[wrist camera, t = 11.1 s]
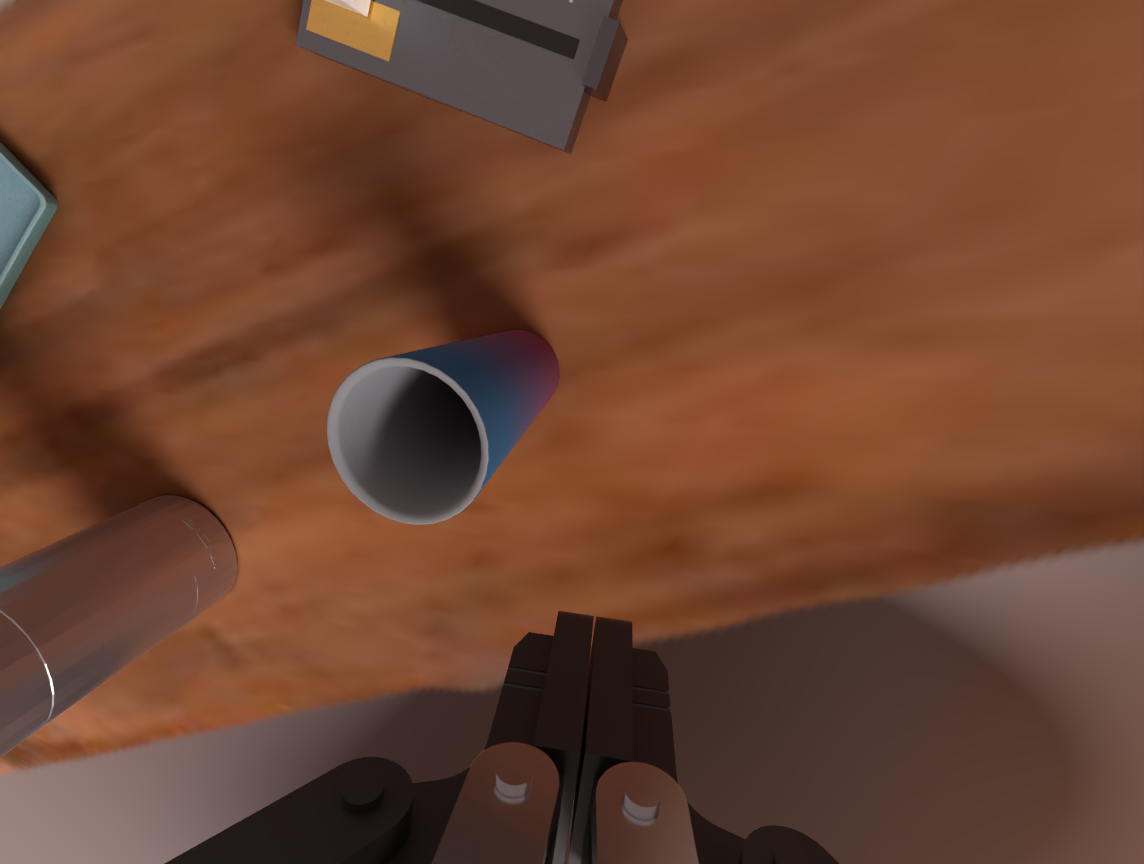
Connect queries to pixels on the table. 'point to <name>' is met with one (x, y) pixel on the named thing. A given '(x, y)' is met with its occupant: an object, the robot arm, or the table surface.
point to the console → (482, 55)
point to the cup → (437, 421)
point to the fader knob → (353, 5)
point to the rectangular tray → (19, 218)
